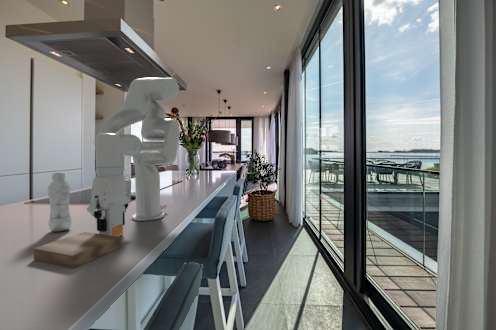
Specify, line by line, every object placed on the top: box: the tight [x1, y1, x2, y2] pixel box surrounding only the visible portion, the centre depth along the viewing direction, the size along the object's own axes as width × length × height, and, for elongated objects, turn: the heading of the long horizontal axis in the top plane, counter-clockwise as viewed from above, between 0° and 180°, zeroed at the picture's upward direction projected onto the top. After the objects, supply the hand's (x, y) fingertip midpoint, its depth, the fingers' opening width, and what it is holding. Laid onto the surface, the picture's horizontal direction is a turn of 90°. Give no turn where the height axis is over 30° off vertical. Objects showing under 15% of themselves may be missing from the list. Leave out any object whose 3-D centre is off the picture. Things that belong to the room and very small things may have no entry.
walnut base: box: [33, 231, 122, 269], centre depth 69 cm, size 14×14×3 cm
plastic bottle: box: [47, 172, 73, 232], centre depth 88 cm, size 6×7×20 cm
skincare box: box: [98, 202, 124, 237], centre depth 82 cm, size 6×4×12 cm
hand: (111, 227), depth 82 cm, fingers closed on skincare box, 6 cm apart
